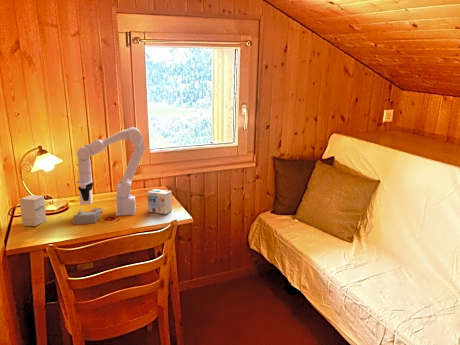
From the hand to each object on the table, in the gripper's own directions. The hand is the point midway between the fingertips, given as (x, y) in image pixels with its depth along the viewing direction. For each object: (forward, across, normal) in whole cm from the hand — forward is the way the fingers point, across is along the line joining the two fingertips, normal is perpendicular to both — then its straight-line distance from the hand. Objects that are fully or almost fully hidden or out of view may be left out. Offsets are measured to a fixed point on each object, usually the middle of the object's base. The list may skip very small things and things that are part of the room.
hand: (87, 199), depth 179 cm
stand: (+9, -8, +3) cm, 12 cm away
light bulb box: (+9, -2, +35) cm, 36 cm away
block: (+2, 0, 0) cm, 2 cm away
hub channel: (+9, +4, 0) cm, 10 cm away
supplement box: (+9, +6, -23) cm, 25 cm away
